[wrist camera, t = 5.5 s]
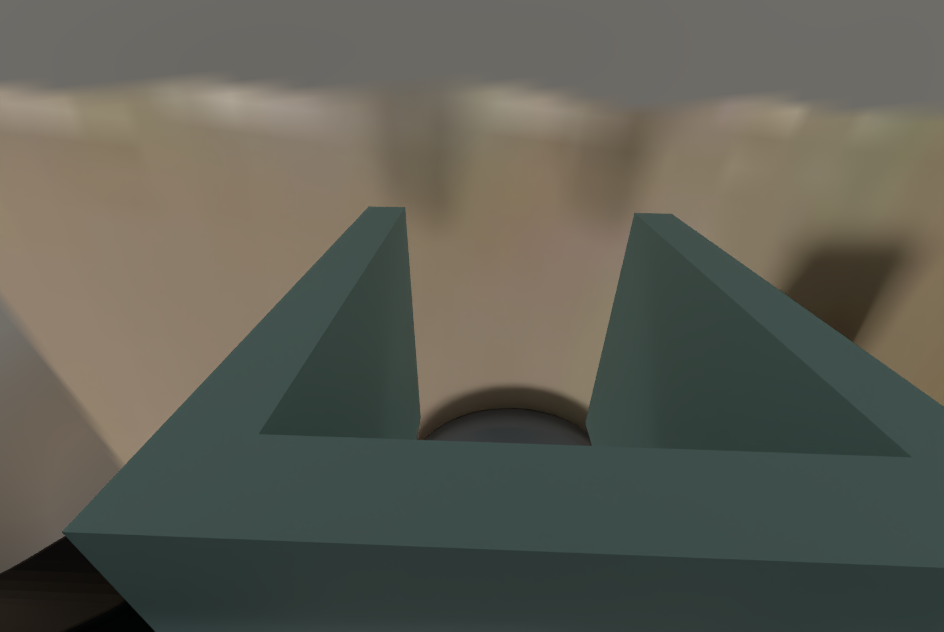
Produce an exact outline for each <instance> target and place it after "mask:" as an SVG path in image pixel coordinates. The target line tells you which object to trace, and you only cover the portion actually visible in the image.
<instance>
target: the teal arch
mask: <svg viewBox="0 0 944 632" xmlns="http://www.w3.org/2000/svg"><path fill="white" fill-rule="evenodd" d="M420 418H421V417H420V403H419V389H418V376H417V362H416V349H415V335H414V321H413V308H412V294H411V280H410V267H409V253H408V240H407V226H406V212H405V207H368V208H367V209H366V210H365V211H364V212H363V213H362V214H361V215H360V216H359V218H358V219H357V220H356V221H355V222H354V223H353V224H352V225H351V226H350V227H349V228H348V229H347V230H346V231H345V232H344V233H343V235H342V236H341V237H340V238H339V239H338V240H337V241H336V242H335V243H334V244H333V245H332V246H331V247H330V248H329V249H328V250H327V251H326V253H325V254H324V255H323V256H322V257H321V258H320V259H319V260H318V261H317V262H316V263H315V264H314V265H313V266H312V267H311V268H310V270H309V271H308V272H307V273H306V274H305V275H304V276H303V277H302V278H301V279H300V280H299V281H298V282H297V283H296V284H295V285H294V286H293V288H292V289H291V290H290V291H289V292H288V293H287V294H286V295H285V296H284V297H283V298H282V299H281V300H280V301H279V302H278V303H277V304H276V306H275V307H274V308H273V309H272V310H271V311H270V312H269V313H268V314H267V315H266V316H265V317H264V318H263V319H262V320H261V321H260V323H259V324H258V325H257V326H256V327H255V328H254V329H253V330H252V331H251V332H250V333H249V334H248V335H247V336H246V337H245V338H244V339H243V341H242V342H241V343H240V344H239V345H238V346H237V347H236V348H235V349H234V350H233V351H232V352H231V353H230V354H229V355H228V356H227V358H226V359H225V360H224V361H223V362H222V363H221V364H220V365H219V366H218V367H217V368H216V369H215V370H214V371H213V372H212V373H211V374H210V376H209V377H208V378H207V379H206V380H205V381H204V382H203V383H202V384H201V385H200V386H199V387H198V388H197V389H196V390H195V391H194V392H193V394H192V395H191V396H190V397H189V398H188V399H187V400H186V401H185V402H184V403H183V404H182V405H181V406H180V407H179V408H178V409H177V411H176V412H175V413H174V414H173V415H172V416H171V417H170V418H169V419H168V420H167V421H166V422H165V423H164V424H163V425H162V426H161V427H160V429H159V430H158V431H157V432H156V433H155V434H154V435H153V436H152V437H151V438H150V439H149V440H148V441H147V442H146V443H145V444H144V445H143V447H142V448H141V449H140V450H139V451H138V452H137V453H136V454H135V455H134V456H133V457H132V458H131V459H130V460H129V461H128V462H127V464H126V465H125V466H124V467H123V468H122V469H121V470H120V471H119V472H118V473H117V474H116V475H115V476H114V477H113V478H112V480H110V482H109V483H108V484H107V485H106V486H105V487H104V488H103V489H102V490H101V491H100V492H99V493H98V494H97V496H95V497H94V499H93V500H92V501H91V502H90V503H89V504H88V505H87V506H86V507H85V508H84V509H83V510H82V511H81V512H80V513H79V514H78V516H77V517H76V518H75V519H74V520H73V521H72V522H71V523H70V524H69V525H68V526H67V527H66V528H65V529H64V530H63V531H62V533H63V534H64V535H65V536H66V537H67V538H68V539H69V540H70V541H71V542H72V543H73V544H74V545H75V547H76V548H77V549H78V550H79V551H80V552H81V553H82V554H83V555H84V556H85V557H86V558H87V559H88V560H89V561H90V563H91V564H92V565H93V566H94V567H95V568H96V569H97V570H98V571H99V572H100V573H101V574H102V575H103V576H104V577H105V579H106V580H107V581H108V582H109V583H110V584H111V585H112V586H113V587H114V588H115V589H116V590H117V591H118V592H119V593H120V595H121V596H122V597H123V598H124V599H125V600H126V601H127V602H128V603H129V604H130V605H131V606H132V607H133V608H134V609H135V611H136V612H137V613H138V614H139V615H140V616H141V617H142V618H143V619H144V620H145V621H146V622H147V623H148V624H149V625H150V627H151V628H152V629H153V630H154V631H155V632H944V406H942V405H941V404H939V403H938V402H936V401H935V400H934V399H932V398H931V397H929V396H928V395H927V394H925V393H924V392H922V391H921V390H920V389H918V388H917V387H915V386H914V385H912V384H911V383H910V382H908V381H907V380H905V379H904V378H903V377H901V376H900V375H898V374H897V373H896V372H894V371H893V370H891V369H890V368H888V367H887V366H886V365H884V364H883V363H881V362H880V361H879V360H877V359H876V358H874V357H873V356H872V355H870V354H869V353H867V352H866V351H864V350H863V349H862V348H860V347H859V346H857V345H856V344H855V343H853V342H852V341H850V340H849V339H848V338H846V337H845V336H843V335H842V334H840V333H839V332H838V331H836V330H835V329H833V328H832V327H831V326H829V325H828V324H826V323H825V322H824V321H822V320H821V319H819V318H818V317H817V316H815V315H814V314H812V313H811V312H809V311H808V310H807V309H805V308H804V307H802V306H801V305H800V304H798V303H797V302H795V301H794V300H793V299H791V298H790V297H788V296H787V295H785V294H784V293H783V292H781V291H780V290H778V289H777V288H776V287H774V286H773V285H771V284H770V283H769V282H767V281H766V280H764V279H763V278H761V277H760V276H759V275H757V274H756V273H754V272H753V271H752V270H750V269H749V268H747V267H746V266H745V265H743V264H742V263H740V262H739V261H737V260H736V259H735V258H733V257H732V256H730V255H729V254H728V253H726V252H725V251H723V250H722V249H721V248H719V247H718V246H716V245H715V244H713V243H712V242H711V241H709V240H708V239H706V238H705V237H704V236H702V235H701V234H699V233H698V232H697V231H695V230H694V229H692V228H691V227H689V226H688V225H687V224H685V223H684V222H682V221H681V220H680V219H678V218H677V217H675V216H674V215H673V214H653V213H634V218H633V222H632V226H631V230H630V235H629V239H628V243H627V247H626V252H625V256H624V260H623V265H622V269H621V273H620V277H619V282H618V286H617V290H616V294H615V299H614V303H613V307H612V312H611V316H610V320H609V324H608V329H607V333H606V337H605V341H604V346H603V350H602V354H601V358H600V363H599V367H598V371H597V376H596V380H595V384H594V388H593V393H592V397H591V401H590V405H589V410H588V414H587V418H586V422H585V424H586V427H587V431H588V434H589V437H590V441H591V444H592V446H577V445H549V444H521V443H493V442H465V441H436V440H416V438H417V433H418V428H419V423H420Z"/></svg>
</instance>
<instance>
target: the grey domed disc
mask: <svg viewBox="0 0 944 632" xmlns="http://www.w3.org/2000/svg"><path fill="white" fill-rule="evenodd" d="M425 440H436V441H465V442H493V443H521V444H549V445H577V446H592V444H591V441H590V437H589V435H588V434H587V433H585V432H584V431H583V430H581V429H580V428H579V427H577V426H575V425H573V424H572V423H570V422H568V421H566V420H564V419H561V418H559V417H556V416H553V415H550V414H546V413H543V412H537V411H532V410H524V409H495V410H486V411H481V412H476V413H471V414H468V415H465V416H462V417H459V418H457V419H455V420H452V421H450V422H448V423H446V424H444V425H443V426H441V427H439V428H438V429H436V430H435V431H434V432H433V433H431V434H430V435H429V436H428V437H427V438H426V439H425Z"/></svg>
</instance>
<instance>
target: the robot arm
mask: <svg viewBox="0 0 944 632" xmlns="http://www.w3.org/2000/svg"><path fill="white" fill-rule="evenodd" d="M0 632H155V631H154V630H153V629H152V628H151V627H150V625H149V624H148V623H147V622H146V621H145V620H144V619H143V618H142V617H141V616H140V615H139V614H138V613H137V612H136V611H135V609H134V608H133V607H132V606H131V605H130V604H129V603H128V602H127V601H126V600H125V599H124V598H123V597H122V596H121V595H120V593H119V592H118V591H117V590H116V589H115V588H114V587H113V586H112V585H111V584H110V583H109V582H108V581H107V580H106V579H105V577H104V576H103V575H102V574H101V573H100V572H99V571H98V570H97V569H96V568H95V567H94V566H93V565H92V564H91V563H90V561H89V560H88V559H87V558H86V557H85V556H84V555H83V554H82V553H81V552H80V551H79V550H78V549H77V548H76V547H75V545H74V544H73V543H72V542H71V541H70V540H69V539H68V538H67V537H66V536H64V537H63V538H61V539H59V540H58V541H56V542H54V543H53V544H51V545H49V546H48V547H46V548H44V549H43V550H41V551H39V552H38V553H36V554H34V555H33V556H31V557H29V558H28V559H26V560H24V561H22V562H21V563H19V564H17V565H15V566H14V567H12V568H10V569H8V570H6V571H4V572H2V573H0Z"/></svg>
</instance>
